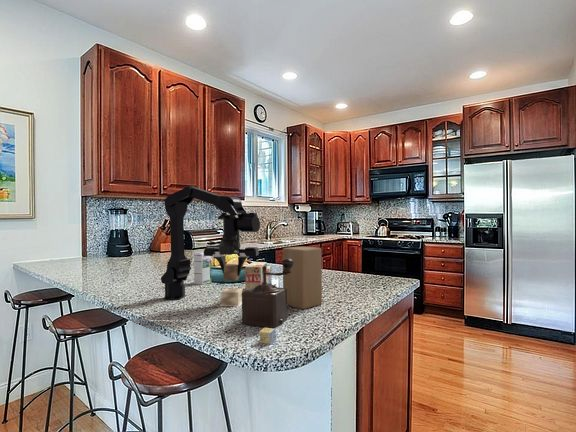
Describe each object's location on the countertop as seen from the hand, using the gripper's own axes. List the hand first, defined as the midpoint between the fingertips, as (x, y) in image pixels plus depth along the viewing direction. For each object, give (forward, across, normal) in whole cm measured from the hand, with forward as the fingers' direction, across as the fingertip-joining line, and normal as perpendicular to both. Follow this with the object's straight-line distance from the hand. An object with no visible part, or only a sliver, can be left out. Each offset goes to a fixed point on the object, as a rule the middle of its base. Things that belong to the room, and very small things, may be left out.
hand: (231, 275), depth 120 cm
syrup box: (+10, -24, +38) cm, 46 cm away
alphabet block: (+10, +18, -34) cm, 40 cm away
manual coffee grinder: (+10, +16, -16) cm, 25 cm away
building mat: (+10, -1, -1) cm, 10 cm away
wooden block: (+10, +25, +2) cm, 27 cm away
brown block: (+1, 0, 0) cm, 1 cm away
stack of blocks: (+11, +6, +21) cm, 24 cm away
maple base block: (+10, 0, 0) cm, 10 cm away
